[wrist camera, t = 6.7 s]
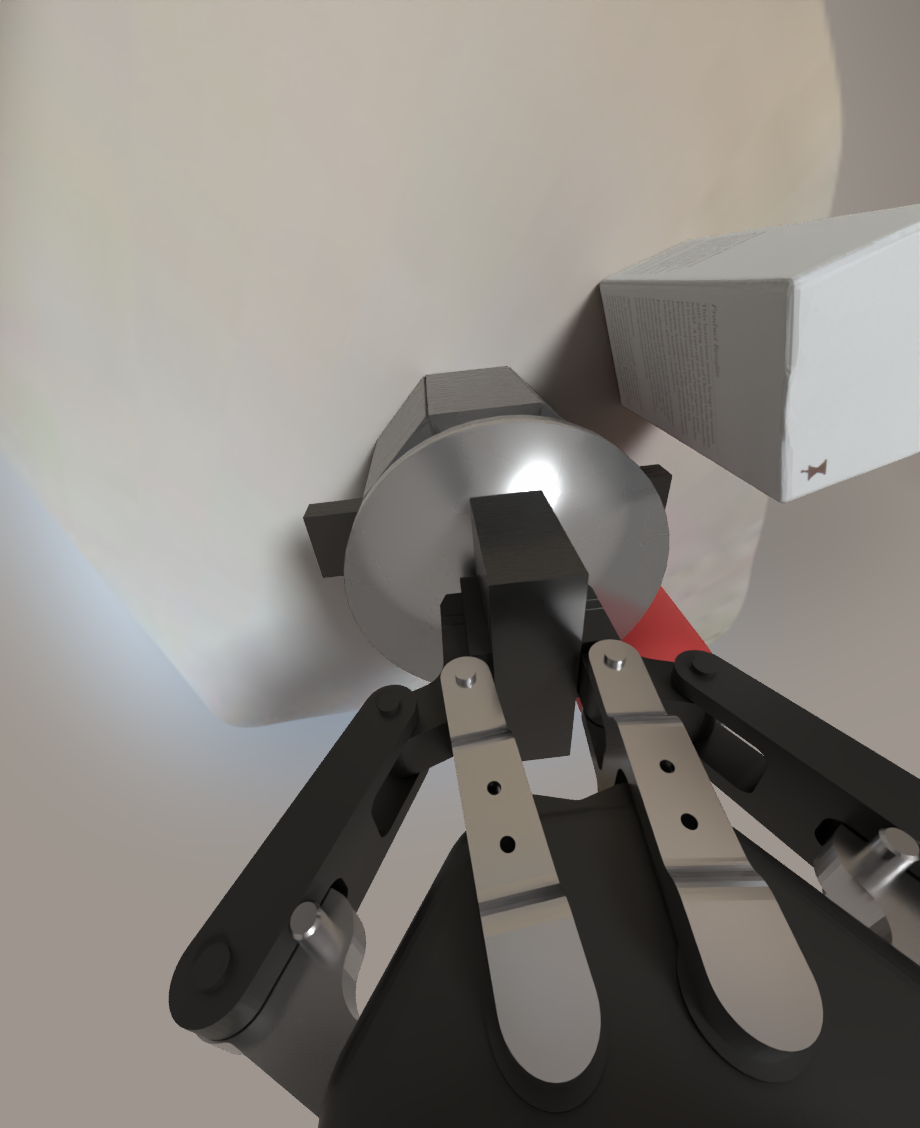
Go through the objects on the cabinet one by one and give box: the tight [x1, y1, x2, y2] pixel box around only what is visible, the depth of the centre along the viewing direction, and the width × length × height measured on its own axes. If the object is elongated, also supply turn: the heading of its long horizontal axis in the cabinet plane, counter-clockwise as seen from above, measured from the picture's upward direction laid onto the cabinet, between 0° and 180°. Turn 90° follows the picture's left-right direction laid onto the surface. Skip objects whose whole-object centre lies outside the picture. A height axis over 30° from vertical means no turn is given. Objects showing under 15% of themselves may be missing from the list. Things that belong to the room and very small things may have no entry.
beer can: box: [576, 585, 724, 726], centre depth 23 cm, size 7×7×12 cm
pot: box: [303, 366, 672, 578], centre depth 21 cm, size 10×15×7 cm, turn 95°
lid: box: [344, 415, 669, 761], centre depth 13 cm, size 11×11×5 cm
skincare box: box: [599, 204, 920, 503], centre depth 15 cm, size 6×4×12 cm
